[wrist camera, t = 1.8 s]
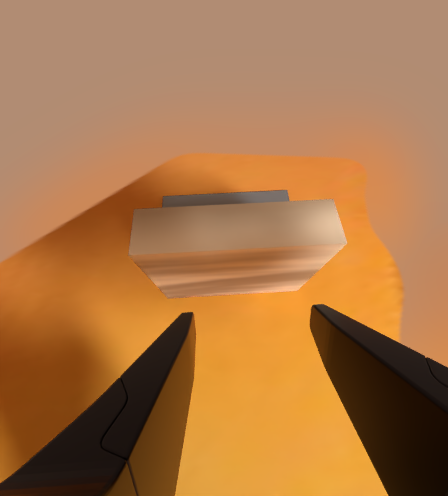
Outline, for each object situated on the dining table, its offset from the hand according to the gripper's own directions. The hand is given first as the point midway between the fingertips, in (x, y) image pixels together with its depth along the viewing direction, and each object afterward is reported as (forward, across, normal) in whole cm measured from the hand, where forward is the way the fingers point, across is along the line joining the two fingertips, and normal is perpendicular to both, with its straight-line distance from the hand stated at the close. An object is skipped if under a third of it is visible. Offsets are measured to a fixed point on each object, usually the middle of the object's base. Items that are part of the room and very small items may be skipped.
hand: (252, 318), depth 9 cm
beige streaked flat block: (+13, 0, +5) cm, 14 cm away
